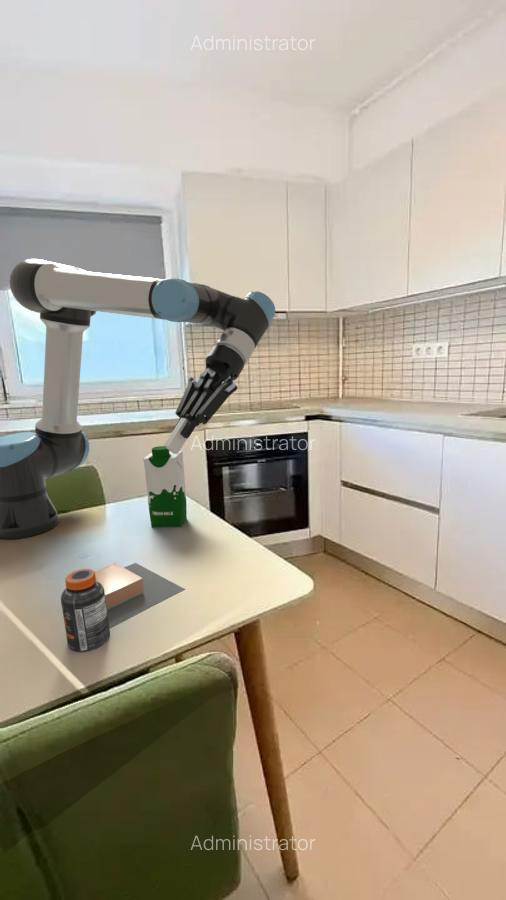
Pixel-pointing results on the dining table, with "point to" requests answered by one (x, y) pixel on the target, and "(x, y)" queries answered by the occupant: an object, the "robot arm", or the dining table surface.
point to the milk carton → (165, 487)
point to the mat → (143, 595)
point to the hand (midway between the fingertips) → (170, 449)
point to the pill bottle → (84, 611)
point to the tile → (119, 585)
